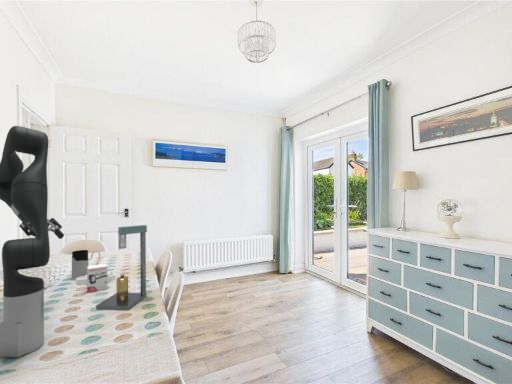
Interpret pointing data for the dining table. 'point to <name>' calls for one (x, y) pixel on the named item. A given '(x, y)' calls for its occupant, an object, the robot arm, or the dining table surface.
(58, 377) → the dining table surface
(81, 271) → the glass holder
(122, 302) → the stand
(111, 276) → the white brass knuckles
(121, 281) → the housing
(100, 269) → the ink box
